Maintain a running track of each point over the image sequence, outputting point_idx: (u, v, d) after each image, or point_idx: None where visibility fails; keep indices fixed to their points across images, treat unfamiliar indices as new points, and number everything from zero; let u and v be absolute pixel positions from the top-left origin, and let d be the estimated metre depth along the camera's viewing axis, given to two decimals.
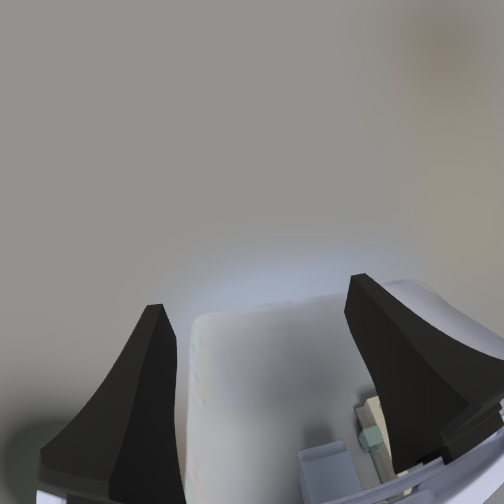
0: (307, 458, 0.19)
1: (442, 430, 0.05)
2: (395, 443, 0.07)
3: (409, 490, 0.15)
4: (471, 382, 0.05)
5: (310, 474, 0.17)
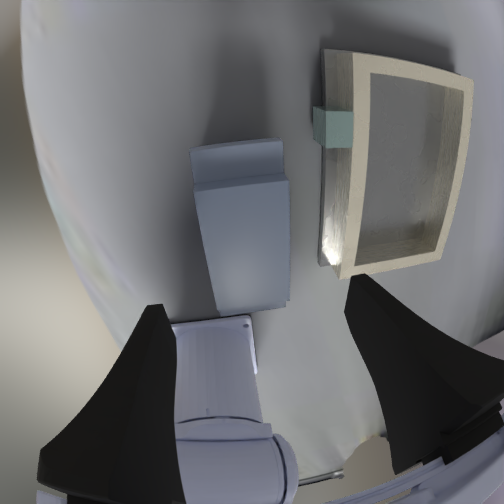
0: (207, 170, 0.12)
1: (442, 430, 0.05)
2: (395, 443, 0.07)
3: (352, 241, 0.18)
4: (471, 383, 0.05)
5: (208, 217, 0.12)
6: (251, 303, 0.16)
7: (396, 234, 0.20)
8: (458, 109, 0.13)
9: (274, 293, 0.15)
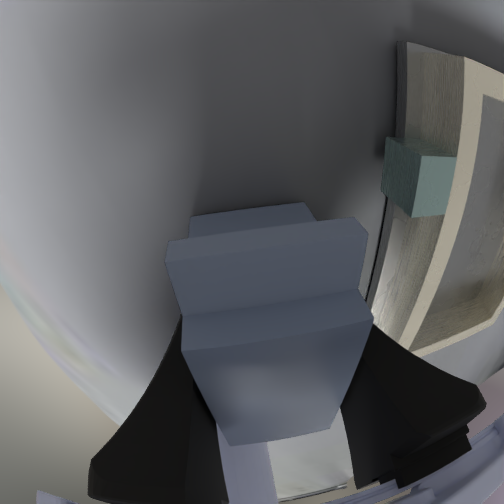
0: (208, 295, 0.06)
1: (393, 453, 0.05)
2: (355, 458, 0.07)
3: (411, 331, 0.12)
4: (424, 407, 0.05)
5: (215, 379, 0.06)
6: (277, 438, 0.09)
7: (452, 300, 0.14)
8: None
9: (311, 428, 0.09)
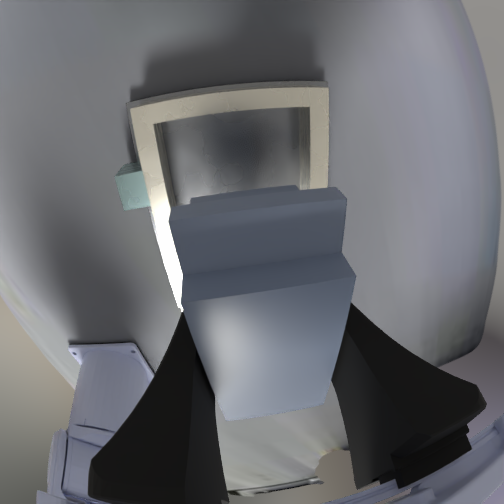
0: (206, 254, 0.07)
1: (393, 453, 0.05)
2: (355, 458, 0.07)
3: None
4: (424, 407, 0.05)
5: (210, 335, 0.07)
6: (272, 412, 0.10)
7: None
8: (307, 131, 0.14)
9: (305, 401, 0.10)
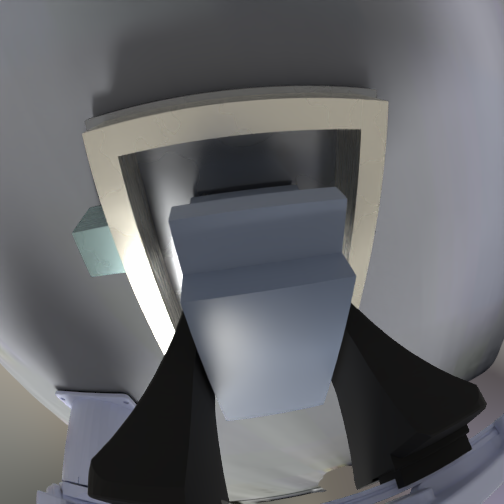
0: (206, 253, 0.07)
1: (393, 453, 0.05)
2: (355, 458, 0.07)
3: None
4: (423, 407, 0.05)
5: (211, 335, 0.07)
6: (272, 412, 0.10)
7: None
8: (353, 165, 0.09)
9: (305, 401, 0.10)
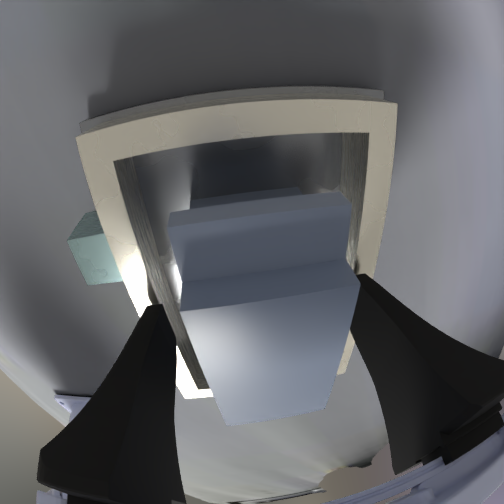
0: (206, 261, 0.06)
1: (442, 430, 0.05)
2: (395, 443, 0.07)
3: (179, 371, 0.13)
4: (471, 383, 0.05)
5: (211, 343, 0.07)
6: (273, 417, 0.10)
7: None
8: (360, 169, 0.09)
9: (306, 406, 0.10)
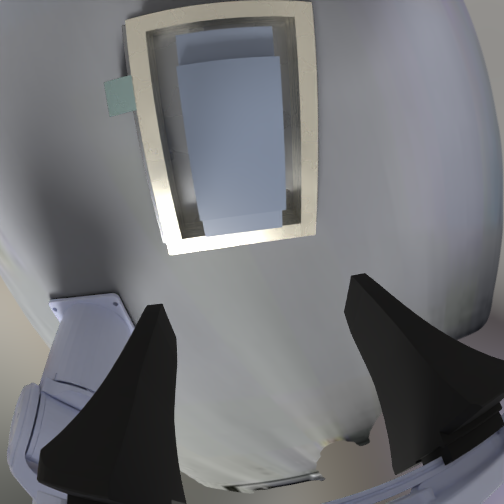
0: (193, 53, 0.10)
1: (442, 430, 0.05)
2: (395, 443, 0.07)
3: (167, 210, 0.16)
4: (471, 383, 0.05)
5: (191, 93, 0.10)
6: (240, 211, 0.13)
7: None
8: (293, 40, 0.12)
9: (267, 197, 0.13)
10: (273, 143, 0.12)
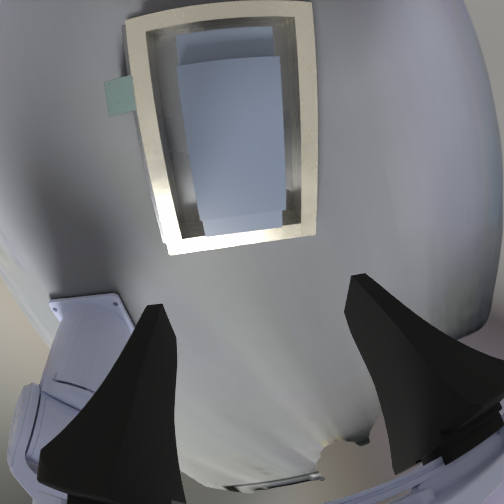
0: (193, 53, 0.10)
1: (442, 430, 0.05)
2: (395, 443, 0.07)
3: (167, 210, 0.16)
4: (471, 383, 0.05)
5: (191, 93, 0.10)
6: (240, 211, 0.13)
7: None
8: (293, 40, 0.12)
9: (267, 197, 0.13)
10: (273, 143, 0.12)
